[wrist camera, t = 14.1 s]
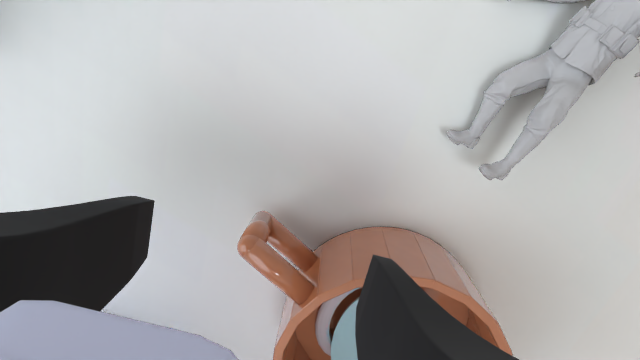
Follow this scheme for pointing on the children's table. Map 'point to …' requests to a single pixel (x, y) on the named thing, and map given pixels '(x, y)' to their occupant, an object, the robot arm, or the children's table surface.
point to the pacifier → (337, 329)
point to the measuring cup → (355, 279)
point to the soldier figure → (557, 76)
